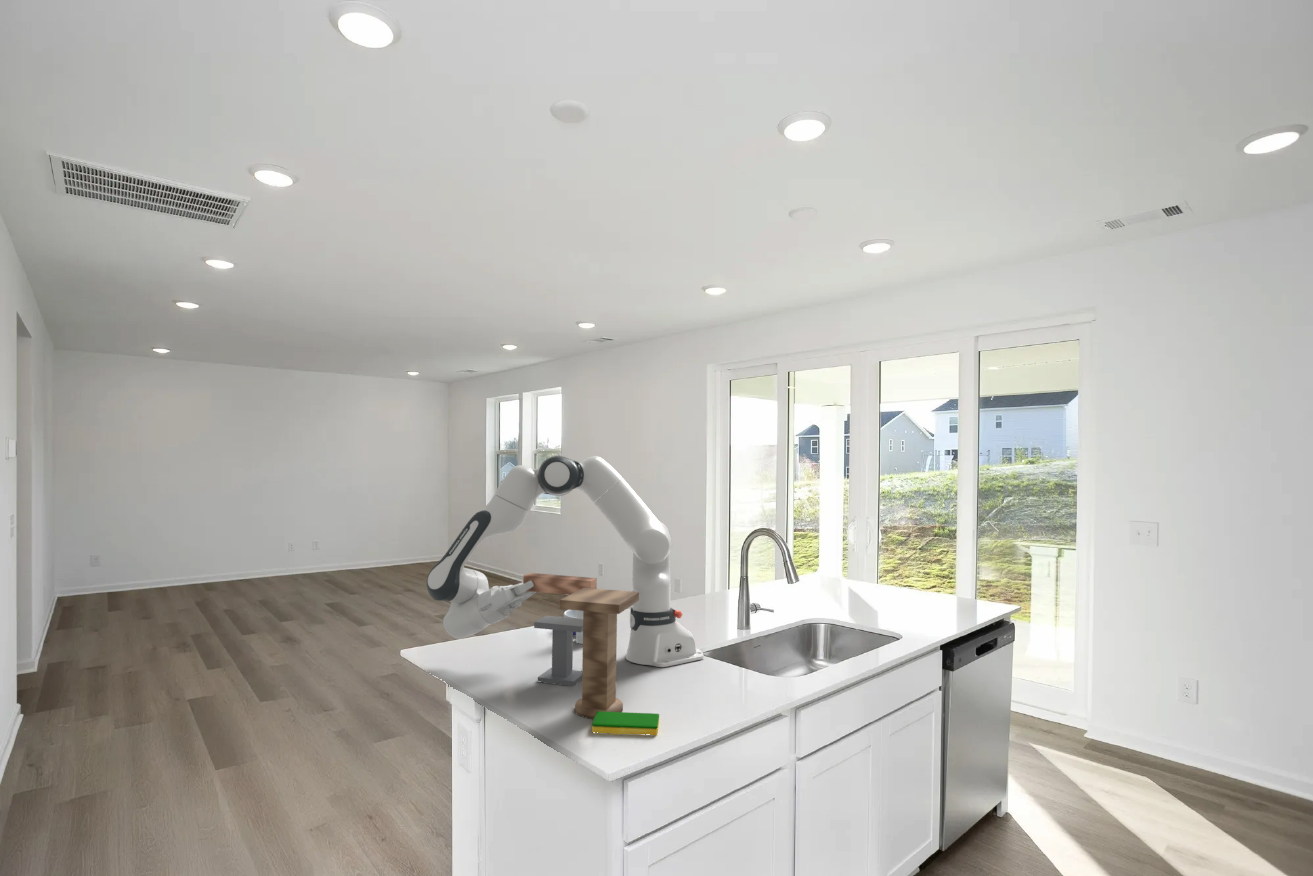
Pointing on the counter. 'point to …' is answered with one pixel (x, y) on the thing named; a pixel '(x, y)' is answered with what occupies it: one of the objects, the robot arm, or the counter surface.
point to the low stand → (561, 649)
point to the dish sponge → (625, 723)
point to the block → (559, 583)
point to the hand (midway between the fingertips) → (538, 581)
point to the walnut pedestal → (599, 646)
